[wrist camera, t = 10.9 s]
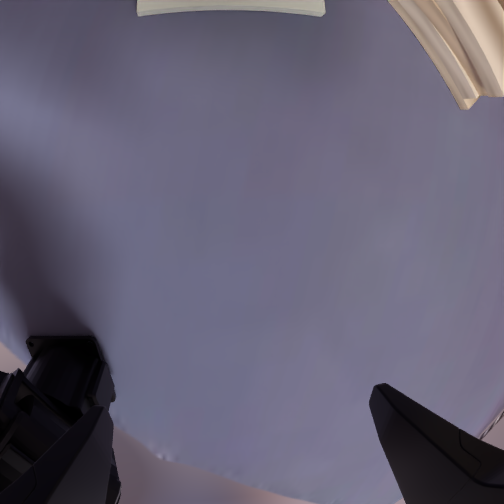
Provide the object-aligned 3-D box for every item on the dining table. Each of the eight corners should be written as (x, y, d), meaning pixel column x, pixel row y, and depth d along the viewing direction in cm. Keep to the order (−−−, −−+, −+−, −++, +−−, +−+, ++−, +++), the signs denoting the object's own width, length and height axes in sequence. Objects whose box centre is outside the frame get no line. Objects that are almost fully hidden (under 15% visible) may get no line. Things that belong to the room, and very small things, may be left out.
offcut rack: (459, 111, 20) (543, 112, 12) (367, -19, 16) (436, -68, 7) (496, 69, 20) (566, 66, 11) (420, -42, 15) (482, -75, 7)
